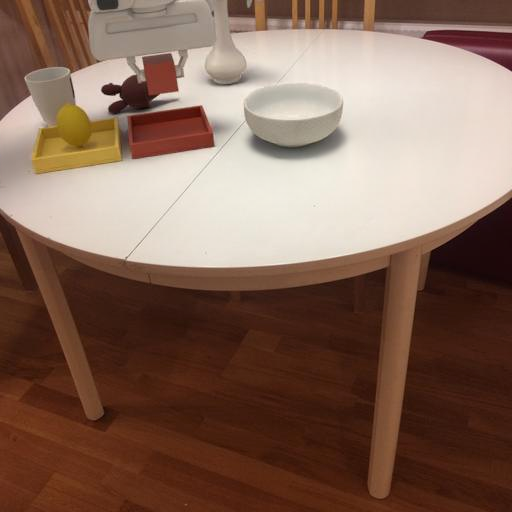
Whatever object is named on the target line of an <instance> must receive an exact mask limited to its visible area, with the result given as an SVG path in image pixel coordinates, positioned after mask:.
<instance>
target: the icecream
mask: <svg viewBox="0 0 512 512" xmlns="http://www.w3.org/2000/svg"><path fill="white" fill-rule="evenodd" d="M100 89H101V90H100V92H101V93H102V94H103V95H104V96H108V97H116V96H117V95H119V97H118V98H120V99H119V100H116V101H114V102H112V103H111V104H109V105H108V107H107V111H108V113H110V114H112V115H114V114H118V113H120V112H122V111H123V110H125V109H126V108H127V107H128V106H129V107H131V108H133V109H144V108H150V102H152V101H153V100H155V99H157V97H159V96H160V95H161V94H157V95H149V92H148V87H147V82H144V83H138V79H137V74H136V73H135V74H132V75H130V76H128V77H127V78H126V79H125V80H124V81H122V83H121V85H120V84H114V83H113V82H109V83H107V84H106V83H105V84H104V85H102V86H101V88H100Z"/></svg>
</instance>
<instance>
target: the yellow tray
mask: <svg viewBox="0 0 512 512" xmlns="http://www.w3.org/2000/svg"><path fill="white" fill-rule="evenodd" d="M90 123H91V129H92V132H91V137H90V139H89V140H88V141H87V142H86V143H85V144H83V146H82V147H81V148H79V147H77V146H73V145H70V144H68V143H67V142H65V141H64V140H63V139H62V137H61V136H60V134H59V131H58V128H57V126H52V127H49V126H46V127H39V128H38V131H37V134H36V138H35V142H34V145H33V146H34V147H33V150H32V154H31V158H30V162H31V164H32V169H33V170H34V173H35V175H37V174H43V173H50V172H56V171H63V170H64V171H65V170H69V169H70V170H71V169H77V168H83V167H88V166H89V167H90V166H95V165H104V164H109V163H110V164H111V163H116V162H121V161H122V160H123V157H122V155H123V153H122V135H121V127H120V123H119V117H118V116H115V117H109V118H102V119H101V118H100V119H95V120H94V119H93V120H90Z"/></svg>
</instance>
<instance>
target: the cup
mask: <svg viewBox="0 0 512 512" xmlns="http://www.w3.org/2000/svg"><path fill="white" fill-rule="evenodd" d="M24 81H25V83H26V87H27V89H28V91H29V93H30V96H31V99H32V101H33V103H34V105H35V107H36V109H37V110H38V112H39V114H40V116H41V118H42V120H43V121H44V122H45V124H46V125H47V127H52V126H57V114H58V112H59V111H60V109H61V108H62V107H64V106H65V105H66V104H68V103H70V104H71V105H76V106H77V103H76V102H77V101H76V94H75V93H76V92H75V88H74V84H73V78H72V75H71V70H70V69H69V68H68V67H62V66H53V67H52V66H51V67H46V68H45V67H44V68H41V69H37V70H33V71H31V72H29V73H28V74H26V75H25V76H24Z"/></svg>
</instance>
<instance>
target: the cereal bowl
mask: <svg viewBox="0 0 512 512" xmlns="http://www.w3.org/2000/svg"><path fill="white" fill-rule="evenodd" d="M343 110H344V99H343V96H342V94H340V92H338V91H337V90H335V89H333V88H331V87H328V86H325V85H321V84H315V83H308V82H306V83H305V82H285V83H276V84H271V85H267V86H263V87H260V88H257V89H255V90H253V91H251V92H250V93H249V94H247V95H246V97H245V98H244V102H243V112H244V117H245V122H246V124H247V126H248V128H249V129H250V131H251V132H252V133H253V134H254V135H256V136H257V137H259V139H262V140H263V141H266V142H268V143H272V144H274V145H276V146H279V147H281V148H282V147H283V148H299V147H300V148H301V147H306V146H308V145H310V144H312V143H316V142H319V141H322V140H323V139H325V138H327V137H329V136H330V135H331V134H332V133H333V132H334V131H335V130H336V129H337V128H338V126H339V124H340V122H341V119H342V116H343Z"/></svg>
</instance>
